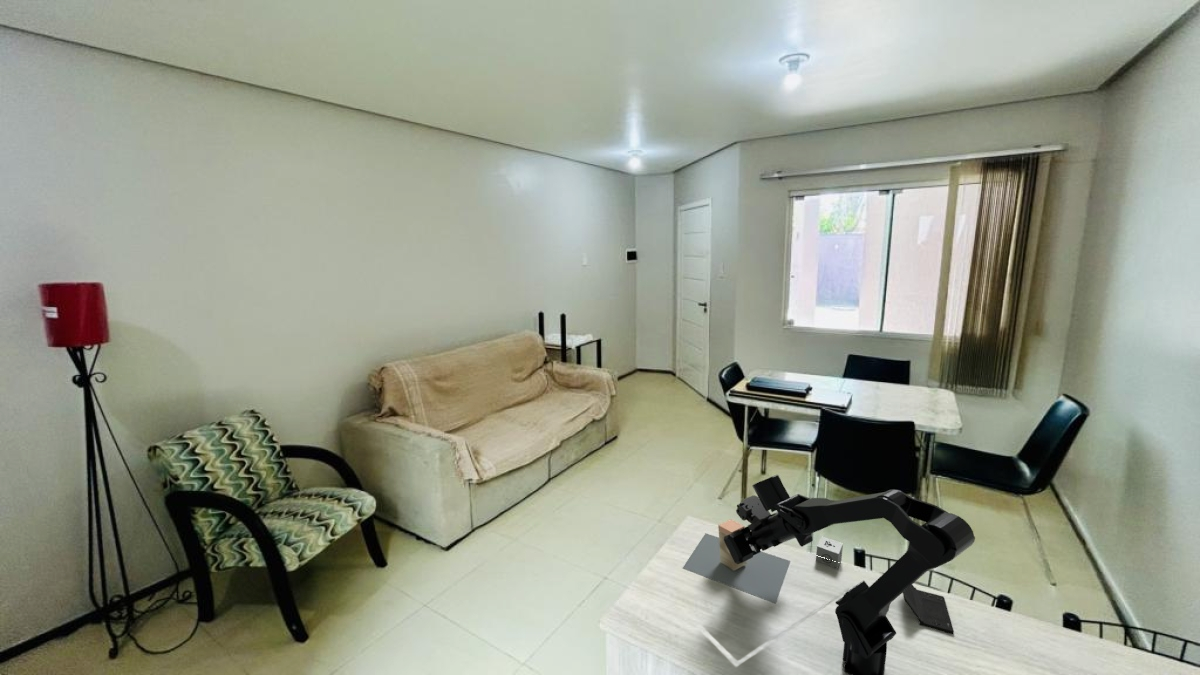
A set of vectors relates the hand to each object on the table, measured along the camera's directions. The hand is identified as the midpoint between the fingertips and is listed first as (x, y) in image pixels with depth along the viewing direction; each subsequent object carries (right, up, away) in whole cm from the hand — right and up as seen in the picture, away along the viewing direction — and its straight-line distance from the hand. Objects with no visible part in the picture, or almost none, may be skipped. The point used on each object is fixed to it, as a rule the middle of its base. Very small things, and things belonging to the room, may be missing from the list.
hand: (739, 544), depth 115 cm
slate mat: (0, -7, +3) cm, 8 cm away
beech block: (-1, -6, +3) cm, 7 cm away
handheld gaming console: (+37, -10, -12) cm, 40 cm away
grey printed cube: (+24, -6, +4) cm, 25 cm away
